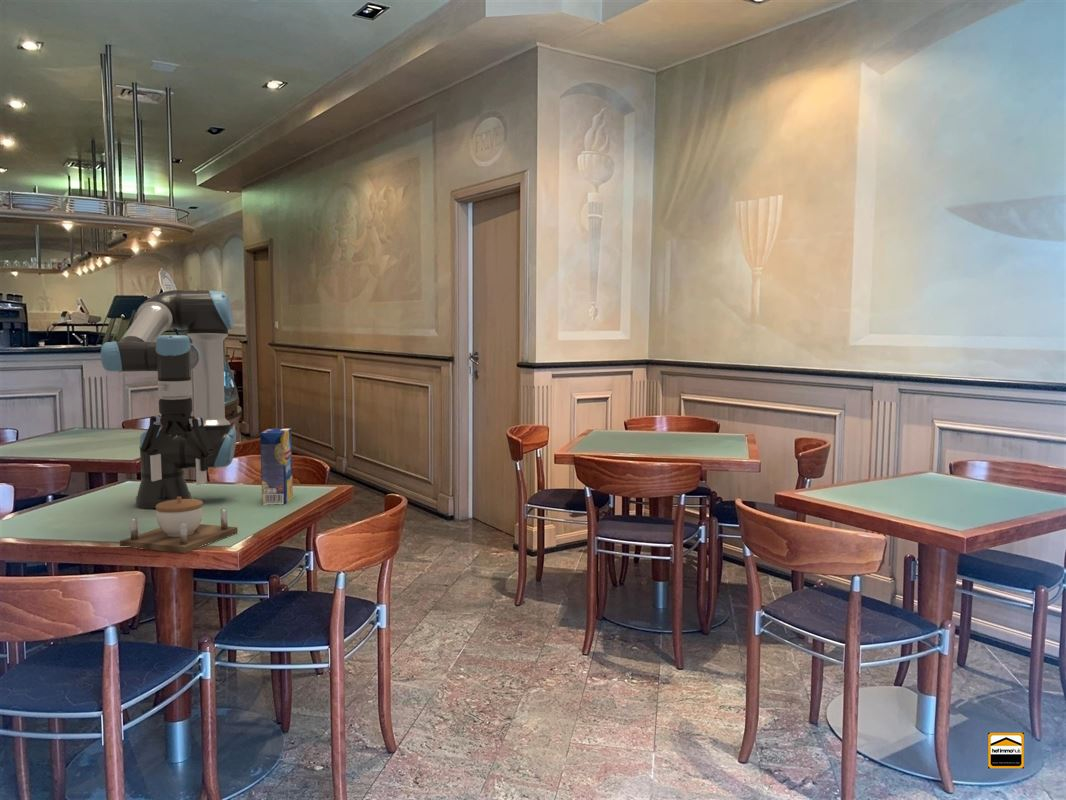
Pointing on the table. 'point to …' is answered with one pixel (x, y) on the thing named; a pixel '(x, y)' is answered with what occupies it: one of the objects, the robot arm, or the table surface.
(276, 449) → the beverage box
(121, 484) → the table surface
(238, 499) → the table surface
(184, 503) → the lidded jar
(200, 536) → the peg board
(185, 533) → the corner pegs
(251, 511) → the table surface
